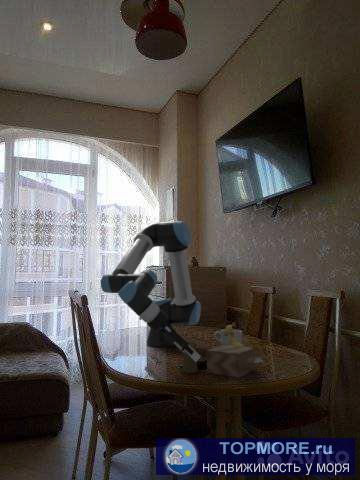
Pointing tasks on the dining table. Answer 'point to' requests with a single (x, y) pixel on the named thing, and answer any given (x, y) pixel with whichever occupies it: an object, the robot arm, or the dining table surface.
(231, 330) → the stuffed giraffe
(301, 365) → the dining table surface
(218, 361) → the walnut block
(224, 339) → the teacup
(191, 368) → the cork
